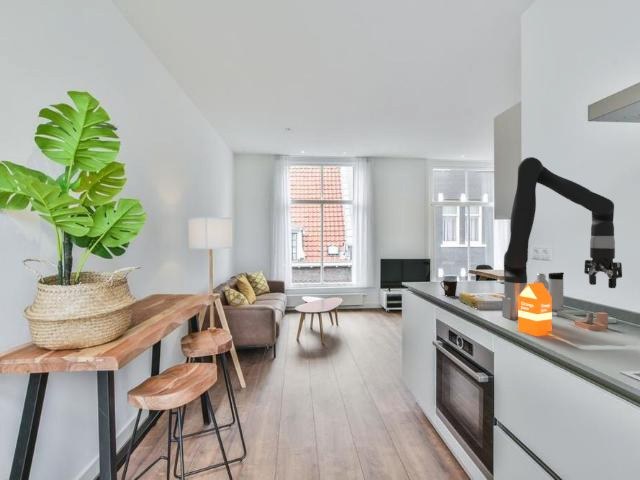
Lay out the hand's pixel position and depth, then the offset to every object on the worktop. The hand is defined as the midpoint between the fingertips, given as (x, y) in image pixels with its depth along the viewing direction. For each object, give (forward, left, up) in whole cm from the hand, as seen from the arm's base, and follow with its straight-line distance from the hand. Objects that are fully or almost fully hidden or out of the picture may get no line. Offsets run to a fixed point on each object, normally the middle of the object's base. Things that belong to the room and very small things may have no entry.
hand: (602, 286), depth 127 cm
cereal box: (-19, +48, -19) cm, 55 cm away
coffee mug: (-31, +77, -18) cm, 85 cm away
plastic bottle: (-5, +28, -18) cm, 34 cm away
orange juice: (-29, -2, -18) cm, 35 cm away
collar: (-4, 0, -17) cm, 17 cm away
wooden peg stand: (-5, 0, -18) cm, 19 cm away
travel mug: (+7, +34, -18) cm, 39 cm away
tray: (+5, +14, -18) cm, 23 cm away
